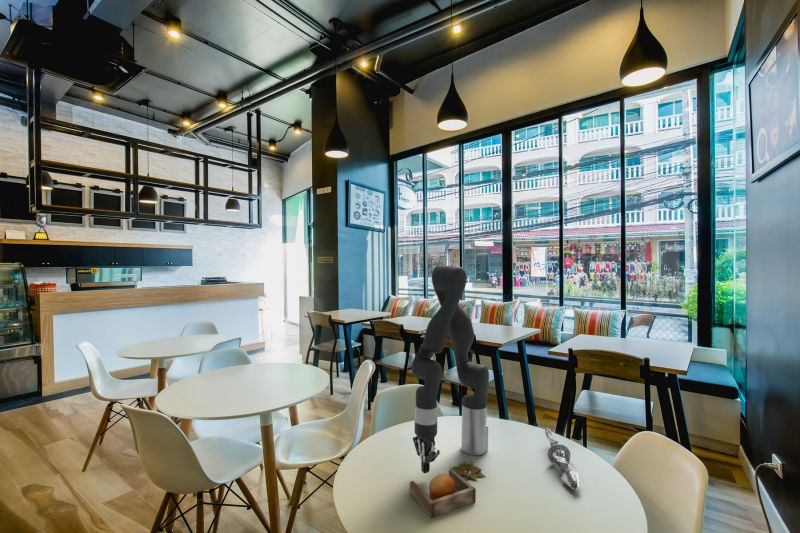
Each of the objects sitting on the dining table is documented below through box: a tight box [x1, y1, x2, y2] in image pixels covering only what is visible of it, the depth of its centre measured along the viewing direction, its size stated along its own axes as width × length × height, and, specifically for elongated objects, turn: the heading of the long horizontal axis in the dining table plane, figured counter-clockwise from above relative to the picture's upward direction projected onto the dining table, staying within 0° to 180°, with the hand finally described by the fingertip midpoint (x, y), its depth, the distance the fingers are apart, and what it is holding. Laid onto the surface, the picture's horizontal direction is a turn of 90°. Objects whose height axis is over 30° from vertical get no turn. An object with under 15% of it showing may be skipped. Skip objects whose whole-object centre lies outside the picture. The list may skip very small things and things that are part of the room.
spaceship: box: [544, 426, 580, 491], centre depth 133 cm, size 8×35×8 cm
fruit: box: [428, 473, 456, 500], centre depth 112 cm, size 8×8×8 cm
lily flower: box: [450, 458, 487, 482], centre depth 127 cm, size 12×12×5 cm
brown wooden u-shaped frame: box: [409, 468, 477, 519], centre depth 113 cm, size 16×12×4 cm
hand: (425, 471), depth 122 cm, fingers closed
